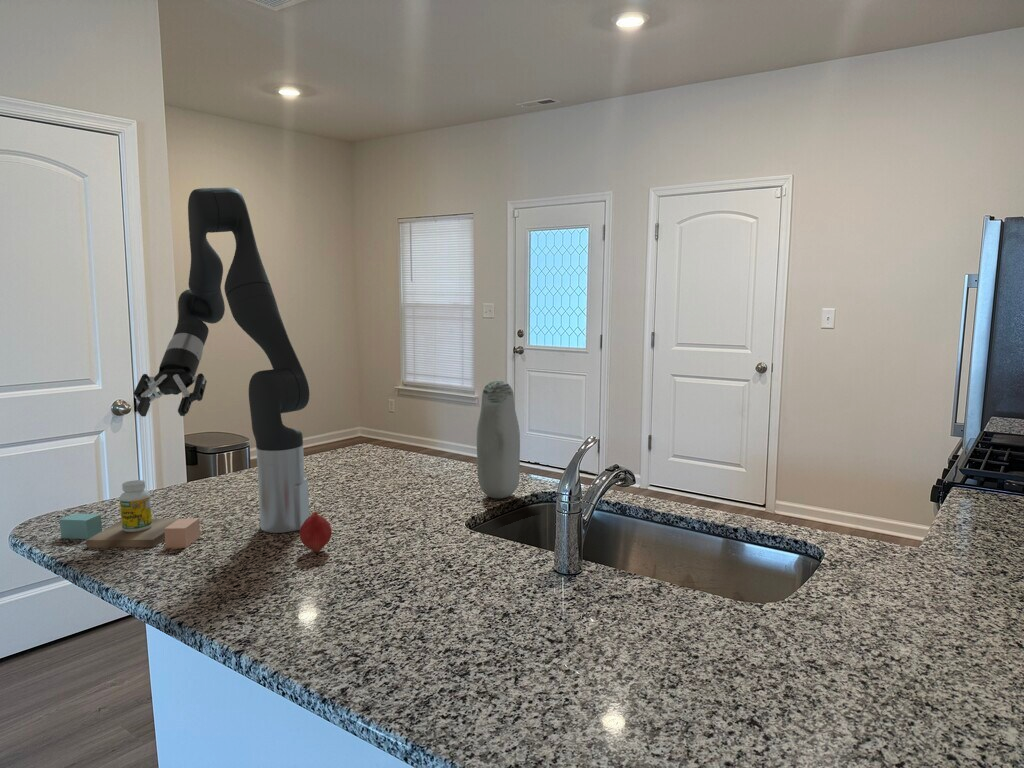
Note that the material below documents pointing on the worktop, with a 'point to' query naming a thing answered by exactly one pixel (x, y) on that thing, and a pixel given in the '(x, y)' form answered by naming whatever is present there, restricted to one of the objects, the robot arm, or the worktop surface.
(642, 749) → the worktop surface
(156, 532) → the walnut board
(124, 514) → the supplement bottle
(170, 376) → the robot arm
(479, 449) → the grey bottle
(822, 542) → the worktop surface
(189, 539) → the terracotta block
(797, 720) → the worktop surface
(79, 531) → the teal block
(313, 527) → the onion
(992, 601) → the worktop surface
